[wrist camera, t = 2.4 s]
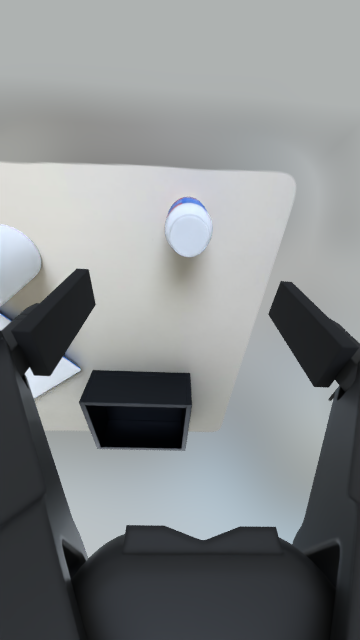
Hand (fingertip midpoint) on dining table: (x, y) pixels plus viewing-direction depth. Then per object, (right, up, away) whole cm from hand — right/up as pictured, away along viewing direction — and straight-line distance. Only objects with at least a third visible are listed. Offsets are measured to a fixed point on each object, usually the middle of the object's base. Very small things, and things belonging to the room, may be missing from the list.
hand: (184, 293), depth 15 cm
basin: (-9, -22, +38) cm, 45 cm away
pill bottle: (+1, +12, +14) cm, 19 cm away
